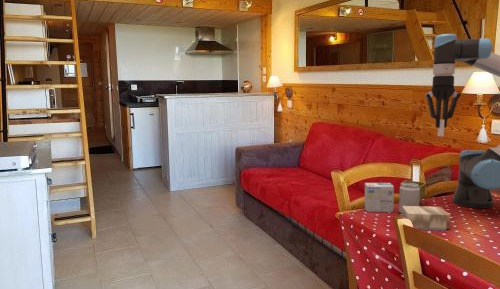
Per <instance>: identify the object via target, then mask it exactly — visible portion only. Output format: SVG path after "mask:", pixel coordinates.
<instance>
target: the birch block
mask: <svg viewBox="0 0 500 289" xmlns="http://www.w3.org/2000/svg"><path fill="white" fill-rule="evenodd" d="M451 216H452V215H451V214H450V213H449V212H448V211H447V210H445V208H443V207H442V206H427V205H426V206H421V205H419V206H402V214H401V217H405V218H407V219H409V220H411V222H412V224H413V226H414V227H415V228H439V229H446V230H450V229H451Z"/></svg>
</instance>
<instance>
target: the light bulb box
mask: <svg viewBox="0 0 500 289" xmlns="http://www.w3.org/2000/svg"><path fill="white" fill-rule="evenodd" d="M394 188H395V187H394V185H393V184H392V183H391V182H364V209H365V210H366V212H367V213H368V212H370V213H393V212H394V204H395V203H394V196H395V194H394V192H395V189H394Z"/></svg>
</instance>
